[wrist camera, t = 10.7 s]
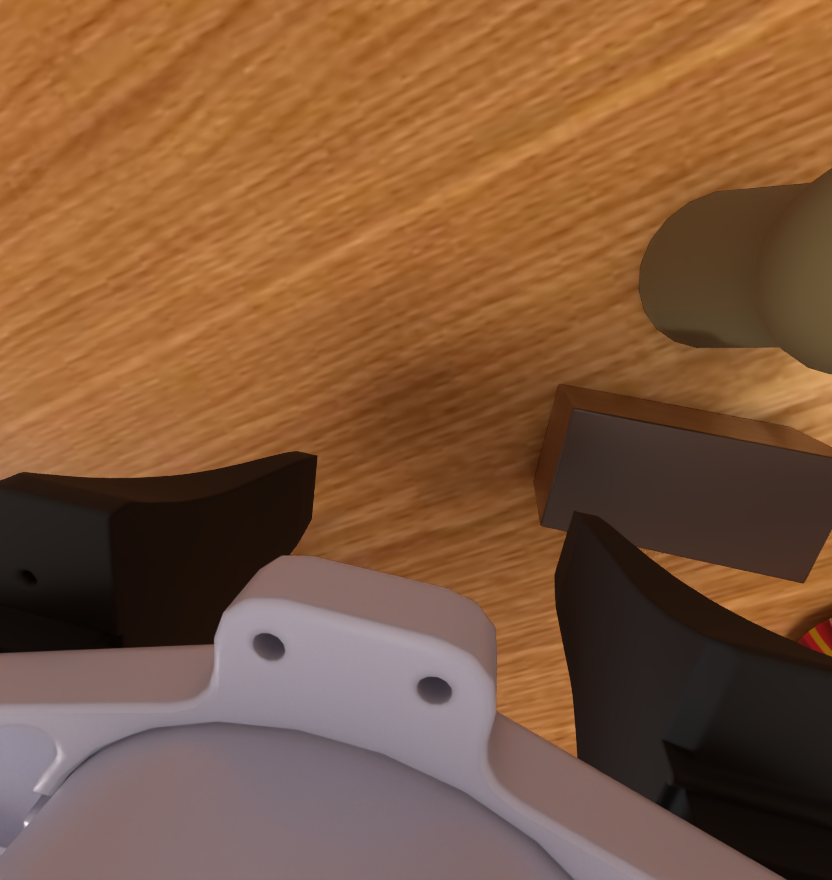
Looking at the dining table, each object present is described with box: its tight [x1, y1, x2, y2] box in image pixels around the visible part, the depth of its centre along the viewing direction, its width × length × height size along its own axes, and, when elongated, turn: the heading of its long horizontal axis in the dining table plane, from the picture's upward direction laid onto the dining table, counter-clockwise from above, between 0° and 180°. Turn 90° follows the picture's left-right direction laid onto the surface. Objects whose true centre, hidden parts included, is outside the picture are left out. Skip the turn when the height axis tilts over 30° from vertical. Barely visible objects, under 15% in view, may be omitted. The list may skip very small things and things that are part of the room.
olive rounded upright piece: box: [639, 168, 832, 374], centre depth 14 cm, size 6×6×11 cm
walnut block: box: [533, 384, 832, 583], centre depth 20 cm, size 5×10×4 cm, turn 81°
